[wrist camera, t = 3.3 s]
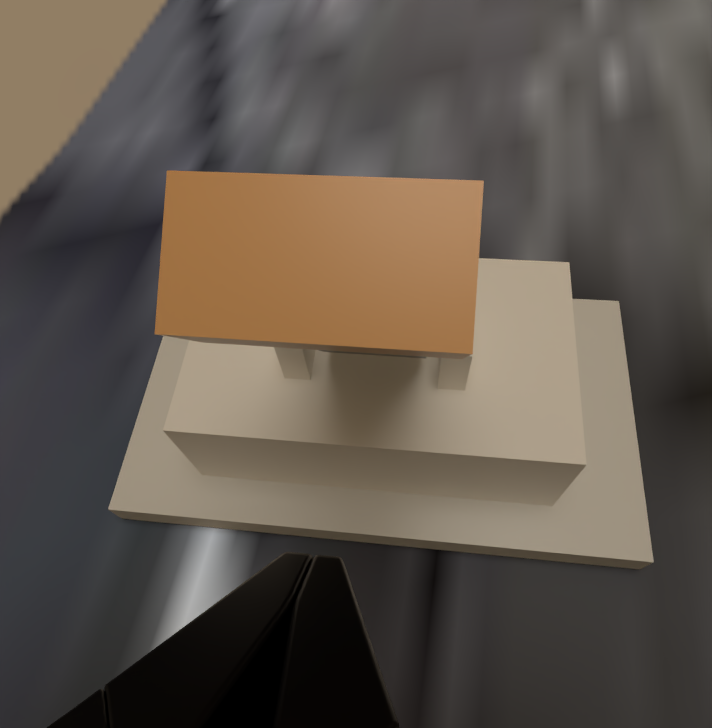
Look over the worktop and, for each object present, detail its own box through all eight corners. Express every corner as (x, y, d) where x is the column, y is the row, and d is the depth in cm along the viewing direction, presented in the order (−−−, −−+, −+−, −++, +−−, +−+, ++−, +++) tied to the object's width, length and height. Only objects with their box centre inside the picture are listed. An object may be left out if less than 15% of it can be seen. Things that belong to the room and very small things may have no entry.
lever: (439, 369, 17) (472, 354, 7) (310, 361, 17) (154, 334, 7) (443, 301, 17) (483, 180, 7) (315, 294, 17) (167, 170, 7)
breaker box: (639, 569, 19) (756, 509, 13) (122, 518, 21) (7, 444, 15) (609, 318, 24) (683, 186, 18) (190, 295, 26) (124, 168, 20)
